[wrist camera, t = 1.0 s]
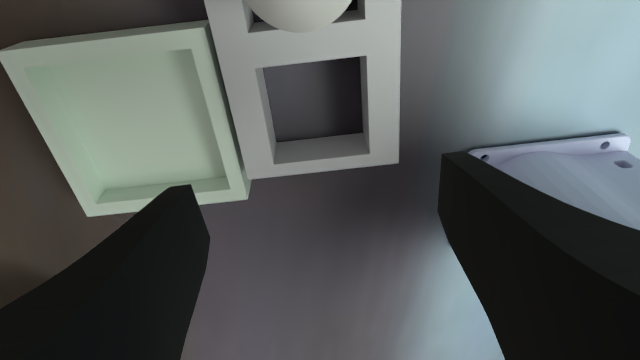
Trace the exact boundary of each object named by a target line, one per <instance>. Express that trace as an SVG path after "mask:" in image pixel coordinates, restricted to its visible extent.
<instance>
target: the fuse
mask: <svg viewBox="0 0 640 360" xmlns="http://www.w3.org/2000/svg"><path fill="white" fill-rule="evenodd" d="M245 1H246V2H247V4H248V5H249V7H250V8H251V9H252V10H253V11H254V13H255V14H257V15H258V16H259V17H260V18H261V19H262V20H264V21H265V22H266V23H268V24H270V25H271V26H273V27H275V28H278V29H280V30H283V31H288V32H294V33H306V32H311V31H315V30H318V29H321V28H323V27H325V26H327V25H329V24H330V23H332V22H333V21H335V20H336V19H337V18H338V17H339V16H340V15H341V14H342V13H343V12H344V11H345V10H346V9H347V7H348V6H349V4H350V3H351V1H352V0H245Z"/></svg>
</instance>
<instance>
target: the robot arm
mask: <svg viewBox="0 0 640 360" xmlns="http://www.w3.org/2000/svg"><path fill="white" fill-rule="evenodd" d="M604 142H605V143H604ZM630 142H631V138H630V137H629V136H628V135H626V134H624V133H618V134H609V135H600V136H591V137H582V138H573V139H564V140H555V141H546V142H537V143H528V144H518V145H509V146H500V147H491V148H482V149H474V150H471V151H470V152H468V153H467V152H464V151H461V152H452V153H444V154H442V158H441V172H440V185H439V198H438V214H439V217H440V220H441V223H442V226H443V228H444V231H445V234H446V236H447V239H448V241H449V243H450V245H451V247H452V249H453V251H454V253H455V255H456V257H457V259H458V261H459V262H460V264H461V266H462V268H463V270H464V272H465V274H466V276H467V277H468V279H469V281H470V283H471V285H472V287H473V289H474V291H475V292H476V294H477V296H478V298H479V300H480V302H481V304H482V306H483V308H484V310H485V312H486V314H487V316H488V318H489V320H490V323H491V325H492V328H493V330H494V333H495V335H496V338H497V340H498V343H499V345H500V348H501V350H502V353H503V355H504V358H505V360H640V160H639V159H638V158H636V157H635V156H633V155H632V154H630V153H629V152H627V150H628V147H629V145H630ZM602 143H604V144H603V145H602V146H601V144H602ZM483 155H486V157H485V158H484V159H481V157H482V156H483ZM209 244H210V236H209V233H208V230H207V227H206V225H205V222H204V219H203V216H202V214H201V211H200V208H199V205H198V202H197V200H196V197H195V194H194V191H193V189H192V186H191V184H187V185H179V186H171V187H169V188H167V189H166V190H164V191H163V192H162V193H161V194H159V195H158V196H157V197H156V198H154V199H153V200H152V201H151V202H150V203H148V204H147V205H146V206H145V207H144V208H142V209H141V210H140V211H139V212H138V213H137V214H135V215H134V216H133V217H132V218H131V219H129V220H128V221H127V222H126V223H125V224H123V225H122V226H121V227H120V228H119V229H117V230H116V231H115V232H114V233H112V234H111V235H110V236H109V237H107V238H106V239H105V240H103V241H102V242H101V243H100V244H98V245H97V246H96V247H94V248H93V249H92V250H91V251H89V252H88V253H87V254H85V255H84V256H83V257H81V258H80V259H79V260H77V261H76V262H74V263H73V264H72V265H70V266H69V267H67V268H66V269H64V270H63V271H61V272H60V273H58V274H57V275H55V276H54V277H52V278H51V279H49V280H48V281H46V282H45V283H43V284H42V285H40V286H38V287H37V288H35V289H33V290H32V291H30V292H28V293H27V294H25V295H23V296H21V297H20V298H18V299H16V300H15V301H13V302H11V303H10V304H8V305H6V306H4V307H3V308H1V309H0V360H180V359H181V354H182V350H183V346H184V342H185V338H186V334H187V331H188V328H189V324H190V321H191V318H192V314H193V311H194V308H195V304H196V301H197V298H198V294H199V291H200V287H201V284H202V280H203V277H204V273H205V270H206V265H207V258H208V251H209Z"/></svg>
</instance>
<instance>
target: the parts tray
mask: <svg viewBox="0 0 640 360" xmlns="http://www.w3.org/2000/svg"><path fill="white" fill-rule="evenodd" d="M0 61H1V63H2V65H3V67H4V68H5V70H6V72H7V74H8V76H9V77H10V79H11V81H12V83H13V85H14V86H15V88H16V90H17V92H18V93H19V95H20V97H21V99H22V101H23V102H24V104H25V106H26V108H27V110H28V111H29V113H30V115H31V117H32V119H33V120H34V122H35V124H36V126H37V127H38V129H39V131H40V133H41V135H42V136H43V138H44V140H45V142H46V144H47V145H48V147H49V149H50V151H51V153H52V154H53V156H54V158H55V160H56V162H57V163H58V165H59V167H60V169H61V170H62V172H63V174H64V176H65V178H66V179H67V181H68V183H69V185H70V187H71V188H72V190H73V192H74V194H75V196H76V197H77V199H78V201H79V203H80V204H81V206H82V208H83V210H84V212H85V213H86V215H87V217H92V216H101V215H110V214H119V213H128V212H138V211H140V210H141V209H142V208H144V207H145V206H146V205H147V204H148V203H150V202H151V201H152V200H153V199H154V198H156V197H157V196H158V195H159V194H161V193H162V192H163V191H164V190H166V189H167V188H169V187H171V186H179V185H187V184H191V186H192V189H193V191H194V194H195V197H196V200H197V202H198V205H202V204H211V203H220V202H229V201H239V200H248V196H249V191H250V186H251V181H252V179H251V180H248V178H247V174H246V170H245V166H244V161H243V157H242V153H241V149H240V145H239V141H238V137H237V133H236V129H235V125H234V121H233V117H232V113H231V109H230V104H229V100H228V96H227V92H226V88H225V84H224V80H223V76H222V72H221V68H220V64H219V60H218V56H217V52H216V48H215V43H214V39H213V35H212V31H211V27H210V23H209V20H201V21H192V22H184V23H175V24H167V25H158V26H150V27H141V28H133V29H124V30H116V31H107V32H99V33H90V34H82V35H73V36H65V37H56V38H48V39H40V40H31V41H23V42H21V43H18V44H15V45H13V46H10V47H7V48H4V49H2V50H0Z"/></svg>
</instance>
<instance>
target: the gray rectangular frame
mask: <svg viewBox="0 0 640 360" xmlns="http://www.w3.org/2000/svg"><path fill="white" fill-rule="evenodd" d="M357 2H358V10H353V11H345V12H343V13H342V14H341V15H340V16H339V17H338V18H337V19H336V20H335V21H333V22H332V23H330V24H329V25H327V26H325V27H323V28H321V29H318V30H315V31H311V32H306V33H294V32H288V31H283V30H280V29H278V28H275V27H273V26H271V25H270V24H268V23H266V22H265V21H260V22H254V19H253V14H252V9H251V8H250V7H249V5H248V4H247V2H246V1H245V0H204V3H205V7H206V11H207V15H208V19H209V23H210V27H211V31H212V35H213V39H214V43H215V48H216V52H217V56H218V60H219V64H220V68H221V72H222V76H223V80H224V84H225V88H226V92H227V96H228V100H229V104H230V109H231V113H232V117H233V121H234V125H235V129H236V133H237V137H238V141H239V145H240V149H241V153H242V157H243V161H244V166H245V170H246V174H247V178H248V180H251V179H260V178H269V177H278V176H287V175H296V174H305V173H314V172H324V171H333V170H342V169H351V168H360V167H369V166H378V165H387V164H396V163H399V116H400V46H401V0H357ZM358 56H360V72H361V95H362V118H363V133H357V134H348V135H339V136H330V137H321V138H312V139H303V140H295V141H286V142H277V143H276V138H275V133H274V127H273V122H272V116H271V111H270V106H269V100H268V95H267V89H266V84H265V78H264V73H263V67H271V66H280V65H289V64H297V63H306V62H315V61H323V60H332V59H341V58H349V57H358Z"/></svg>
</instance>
